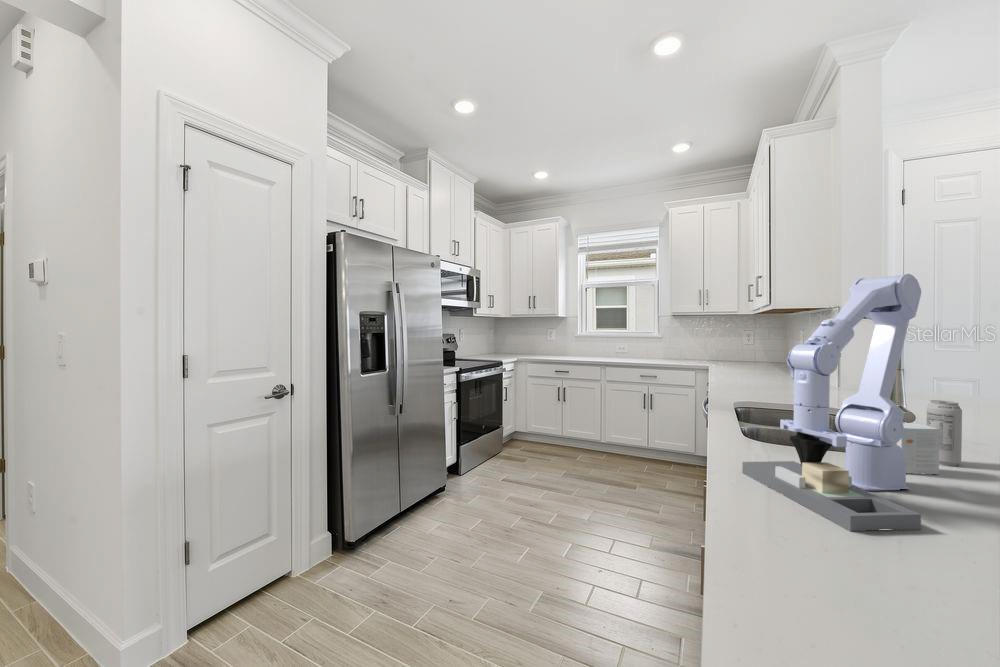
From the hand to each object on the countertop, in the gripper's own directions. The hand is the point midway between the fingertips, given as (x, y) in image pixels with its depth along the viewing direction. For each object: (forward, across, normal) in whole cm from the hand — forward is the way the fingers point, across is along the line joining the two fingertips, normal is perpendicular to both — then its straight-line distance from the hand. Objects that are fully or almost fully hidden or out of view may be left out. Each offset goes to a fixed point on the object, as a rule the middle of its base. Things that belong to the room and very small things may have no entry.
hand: (810, 473), depth 85 cm
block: (+1, +4, 0) cm, 4 cm away
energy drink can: (+4, -18, +48) cm, 51 cm away
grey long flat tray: (+4, +2, 0) cm, 4 cm away
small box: (+4, -12, +34) cm, 36 cm away
